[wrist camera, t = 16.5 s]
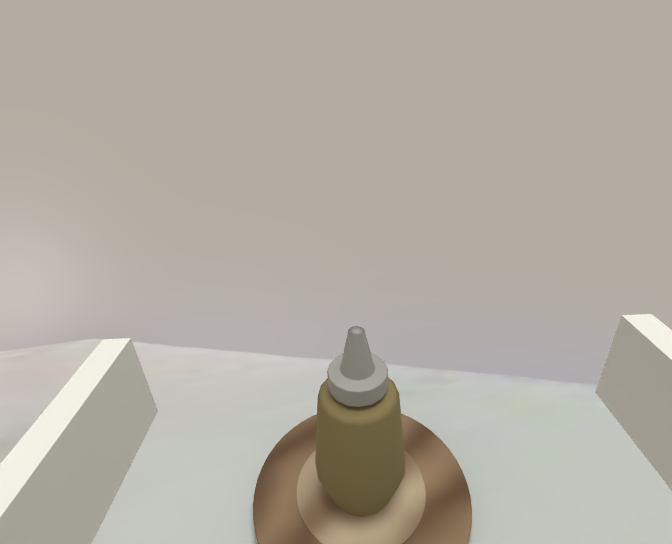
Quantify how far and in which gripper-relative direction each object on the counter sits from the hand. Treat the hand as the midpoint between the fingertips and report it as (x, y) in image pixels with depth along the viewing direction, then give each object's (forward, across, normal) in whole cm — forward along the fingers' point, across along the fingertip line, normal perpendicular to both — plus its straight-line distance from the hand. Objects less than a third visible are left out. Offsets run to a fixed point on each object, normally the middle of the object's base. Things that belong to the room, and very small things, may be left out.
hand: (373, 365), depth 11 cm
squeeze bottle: (+15, 0, -28) cm, 32 cm away
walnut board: (+15, 0, -30) cm, 33 cm away
